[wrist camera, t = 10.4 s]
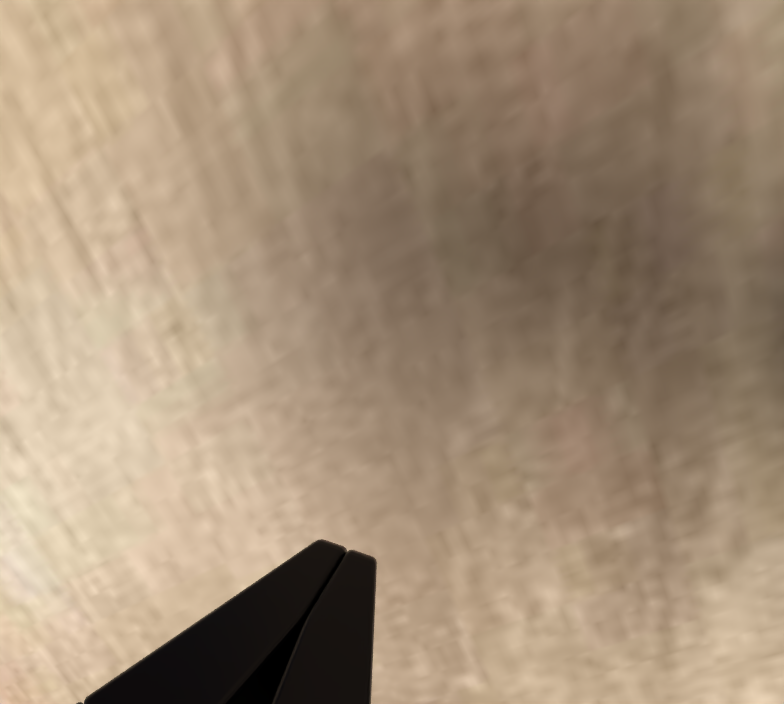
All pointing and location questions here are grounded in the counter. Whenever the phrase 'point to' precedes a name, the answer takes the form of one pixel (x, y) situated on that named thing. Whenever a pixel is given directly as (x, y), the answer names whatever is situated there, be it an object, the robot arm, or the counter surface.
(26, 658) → the counter surface
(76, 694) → the counter surface
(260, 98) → the counter surface
